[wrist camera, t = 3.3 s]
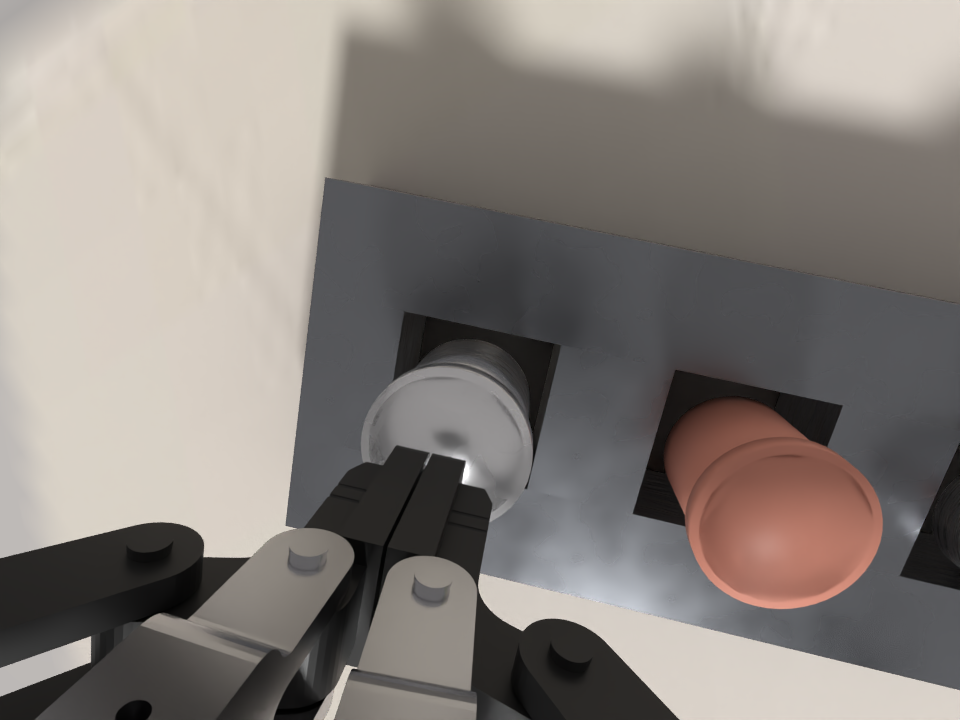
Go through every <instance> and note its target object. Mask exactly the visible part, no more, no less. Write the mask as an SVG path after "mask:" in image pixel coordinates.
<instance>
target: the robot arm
mask: <svg viewBox="0 0 960 720" xmlns="http://www.w3.org/2000/svg"><path fill="white" fill-rule="evenodd" d="M465 465H466V461H465V460H461V459H456V458H452V457H448V456H443V455H439V454H435V453H432V455H431V457H430V452H425V451H421V450H417V449H412V448H408V447H404V446H399V445H396V446H395V448H394V449H393V451H392V452H391V454H390V455H389V457H388V458H387V460H386V461H385V463H384V465H379V464H375V463H370V462H364V463H362V464H360V465H358V466H356V467H354V468H352V469H350V470H348V471H347V472H346V474H345V475H344V476H343V478H342V479H341V480H340V482H339V483H338V486H336V487H335V488H334V489H333V491H332V492H331V493H330V496H329V497H327V498H326V500H325V501H324V502H323V503H322V505H321V506H320V507H319V509H318V510H317V511H316V513H315V514H314V515H313V516H312V518H311V519H310V520H309V522H308V523H307V524H306V525H305V527H304V528H300V529H293V530H289V531H285V532H282V533H280V534H278V535H276V536H274V537H272V538H271V539H270V540H268V541H267V542H266V543H265V544H264V545H263V546H262V547H261V548H260V549H259V550H258V551H257V552H256V553H255V554H254V555H253V556H252V557H249V558H213V557H203V554H204V542H203V539H202V537H201V536H200V535H199V534H198V533H197V532H196V531H194V530H193V529H191V528H189V527H186V526H183V525H180V524H174V523H163V522H160V523H146V524H140V525H135V526H131V527H127V528H123V529H119V530H115V531H111V532H107V533H102V534H98V535H94V536H90V537H86V538H82V539H78V540H74V541H70V542H66V543H61V544H57V545H53V546H49V547H45V548H41V549H37V550H33V551H29V552H25V553H20V554H16V555H12V556H8V557H4V558H0V668H1V667H4V666H7V665H10V664H13V663H15V662H18V661H21V660H24V659H27V658H30V657H32V656H35V655H38V654H41V653H44V652H46V651H50V650H52V649H55V648H58V647H61V646H64V645H67V644H70V643H72V642H75V641H78V640H81V639H84V638H87V637H90V636H91V663H88V664H85V665H83V666H80V667H77V668H75V669H72V670H69V671H67V672H64V673H62V674H59V675H56V676H54V677H51V678H48V679H46V680H43V681H40V682H38V683H35V684H33V685H30V686H27V687H25V688H22V689H19V690H17V691H14V692H11V693H9V694H6V695H4V696H1V697H0V720H324V719H325V717H326V715H327V713H328V711H329V709H330V706H331V704H332V699H333V693H334V688H335V686H336V685H337V683H338V681H339V679H340V676H341V674H342V672H343V670H344V667H345V665H350V666H353V667H357V669H352V670H351V672H350V674H349V677H348V679H347V682H346V685H345V688H344V691H343V694H342V697H341V700H340V703H339V706H338V709H337V712H336V715H335V719H334V720H679V719H678V718H677V717H676V716H675V715H674V714H673V713H672V712H671V711H670V710H669V708H668V707H667V706H666V705H665V704H664V703H663V702H662V701H661V700H660V699H659V698H658V697H657V696H656V695H655V694H654V693H653V692H652V691H651V690H650V688H649V687H648V686H647V685H646V684H645V683H644V682H643V681H642V680H641V679H640V678H639V677H638V676H637V675H636V674H635V673H634V672H633V671H632V670H631V669H630V667H629V666H628V665H627V664H626V663H625V662H624V661H623V660H622V659H621V658H620V657H619V656H618V655H617V654H616V653H615V652H614V651H613V650H612V649H611V647H610V646H609V645H608V644H607V643H606V642H605V641H604V640H603V639H601V638H600V637H599V636H598V635H596V634H595V633H594V632H592V631H591V630H589V629H587V628H586V627H584V626H581V625H579V624H577V623H574V622H571V621H567V620H562V619H544V620H539V621H536V622H534V623H532V624H531V625H529V626H528V627H527V628H526V629H525V630H524V631H521V630H519V629H517V628H515V627H513V626H511V625H509V624H508V623H506V622H504V621H502V620H501V619H500V618H498V617H497V616H496V615H495V614H493V613H492V612H491V611H490V610H489V609H488V607H487V606H486V605H485V604H484V602H483V600H482V598H481V596H480V594H479V589H478V580H479V575H480V569H481V564H482V559H483V553H484V548H485V542H486V537H487V532H488V526H489V521H490V516H491V510H492V505H493V504H492V502H491V500H490V498H489V496H488V494H487V492H486V490H485V489H483V488H478V487H474V486H470V485H466V484H462V480H463V475H464V470H465Z"/></svg>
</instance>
